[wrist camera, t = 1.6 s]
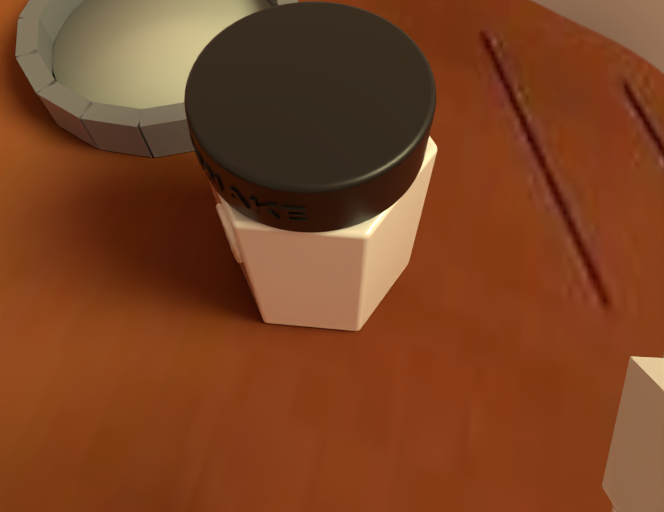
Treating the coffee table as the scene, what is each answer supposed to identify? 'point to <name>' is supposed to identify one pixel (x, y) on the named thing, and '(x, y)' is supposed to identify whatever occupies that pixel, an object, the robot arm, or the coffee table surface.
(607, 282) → the coffee table surface
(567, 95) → the coffee table surface
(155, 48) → the ring dish
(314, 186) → the jar
